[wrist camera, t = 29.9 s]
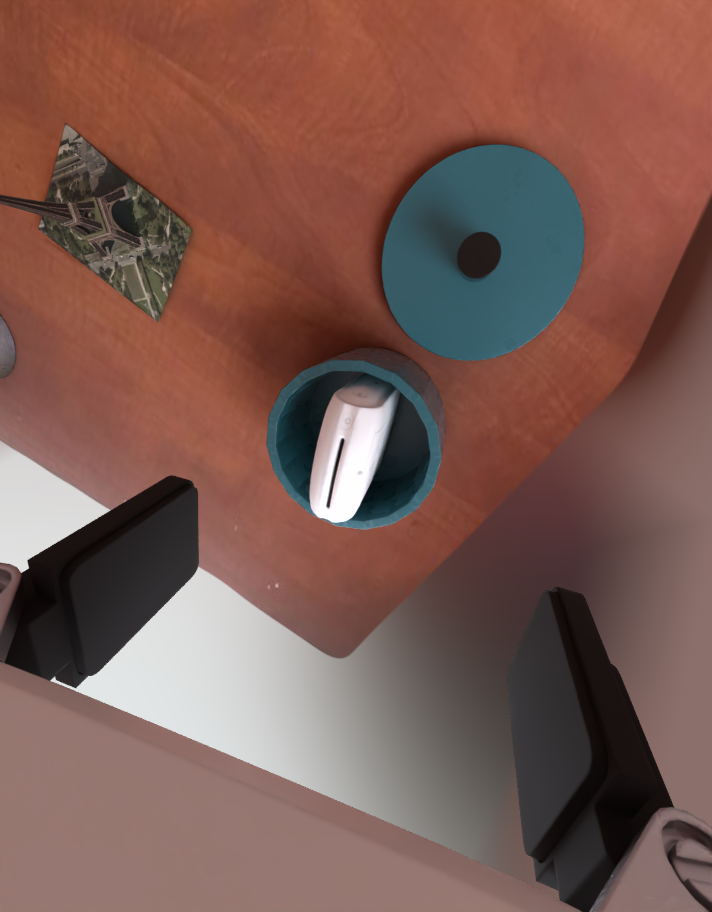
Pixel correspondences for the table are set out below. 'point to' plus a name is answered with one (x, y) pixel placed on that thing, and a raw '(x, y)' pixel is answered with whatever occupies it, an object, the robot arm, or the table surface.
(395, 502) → the pot
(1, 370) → the pillar candle
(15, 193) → the table surface
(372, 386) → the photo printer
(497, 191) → the lid
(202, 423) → the table surface
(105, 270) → the eiffel tower figurine
